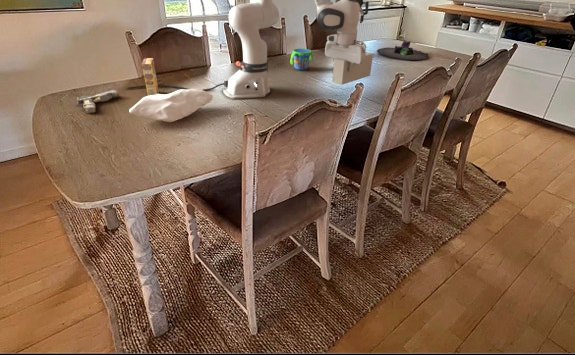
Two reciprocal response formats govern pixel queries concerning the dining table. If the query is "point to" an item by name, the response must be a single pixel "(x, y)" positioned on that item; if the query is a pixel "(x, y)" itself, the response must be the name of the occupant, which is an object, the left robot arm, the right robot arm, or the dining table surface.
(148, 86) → the candy box
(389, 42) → the dining table surface
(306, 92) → the dining table surface
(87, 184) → the dining table surface
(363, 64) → the box
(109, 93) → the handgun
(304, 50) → the snack cup
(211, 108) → the dining table surface
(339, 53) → the left robot arm
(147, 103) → the crumpled cloth
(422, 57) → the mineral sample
